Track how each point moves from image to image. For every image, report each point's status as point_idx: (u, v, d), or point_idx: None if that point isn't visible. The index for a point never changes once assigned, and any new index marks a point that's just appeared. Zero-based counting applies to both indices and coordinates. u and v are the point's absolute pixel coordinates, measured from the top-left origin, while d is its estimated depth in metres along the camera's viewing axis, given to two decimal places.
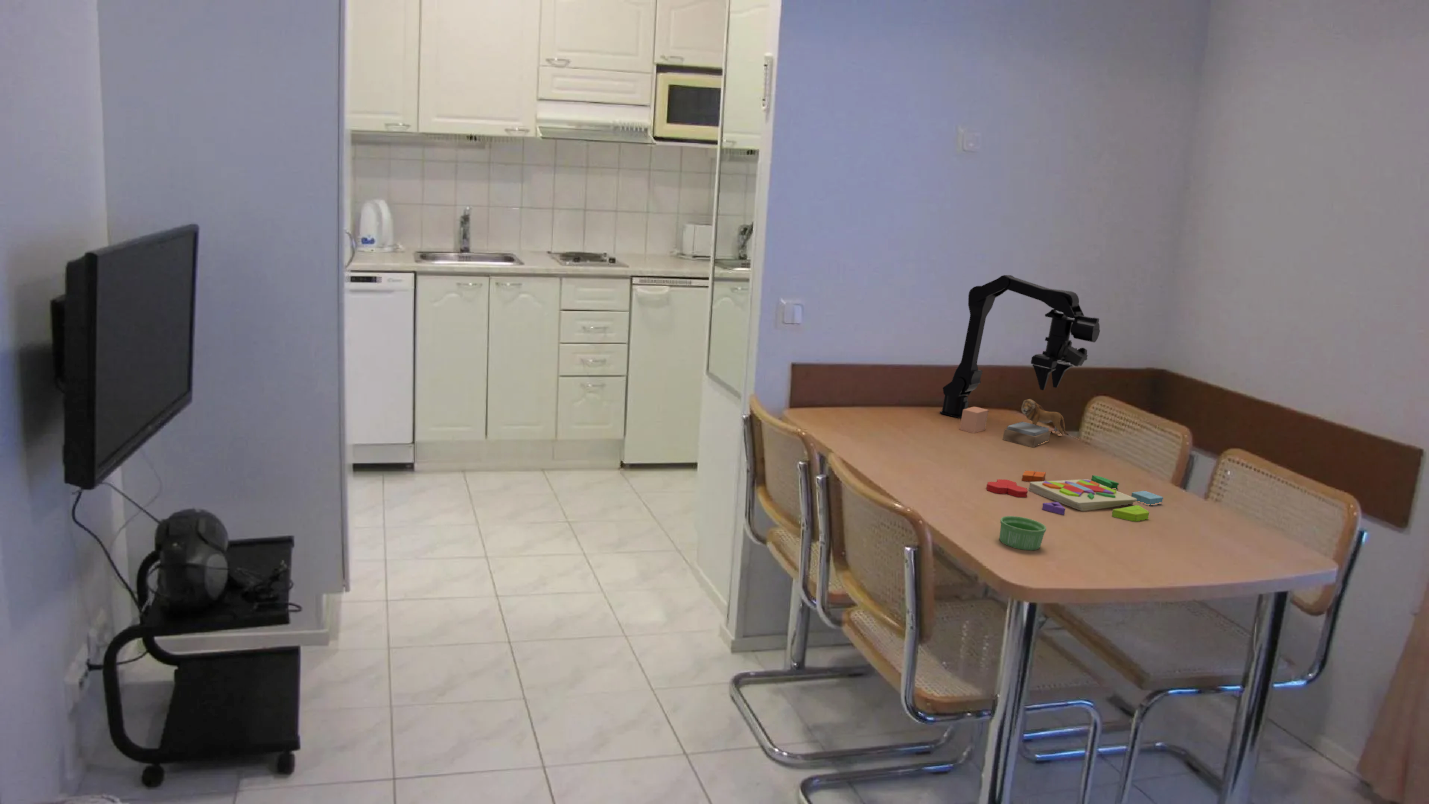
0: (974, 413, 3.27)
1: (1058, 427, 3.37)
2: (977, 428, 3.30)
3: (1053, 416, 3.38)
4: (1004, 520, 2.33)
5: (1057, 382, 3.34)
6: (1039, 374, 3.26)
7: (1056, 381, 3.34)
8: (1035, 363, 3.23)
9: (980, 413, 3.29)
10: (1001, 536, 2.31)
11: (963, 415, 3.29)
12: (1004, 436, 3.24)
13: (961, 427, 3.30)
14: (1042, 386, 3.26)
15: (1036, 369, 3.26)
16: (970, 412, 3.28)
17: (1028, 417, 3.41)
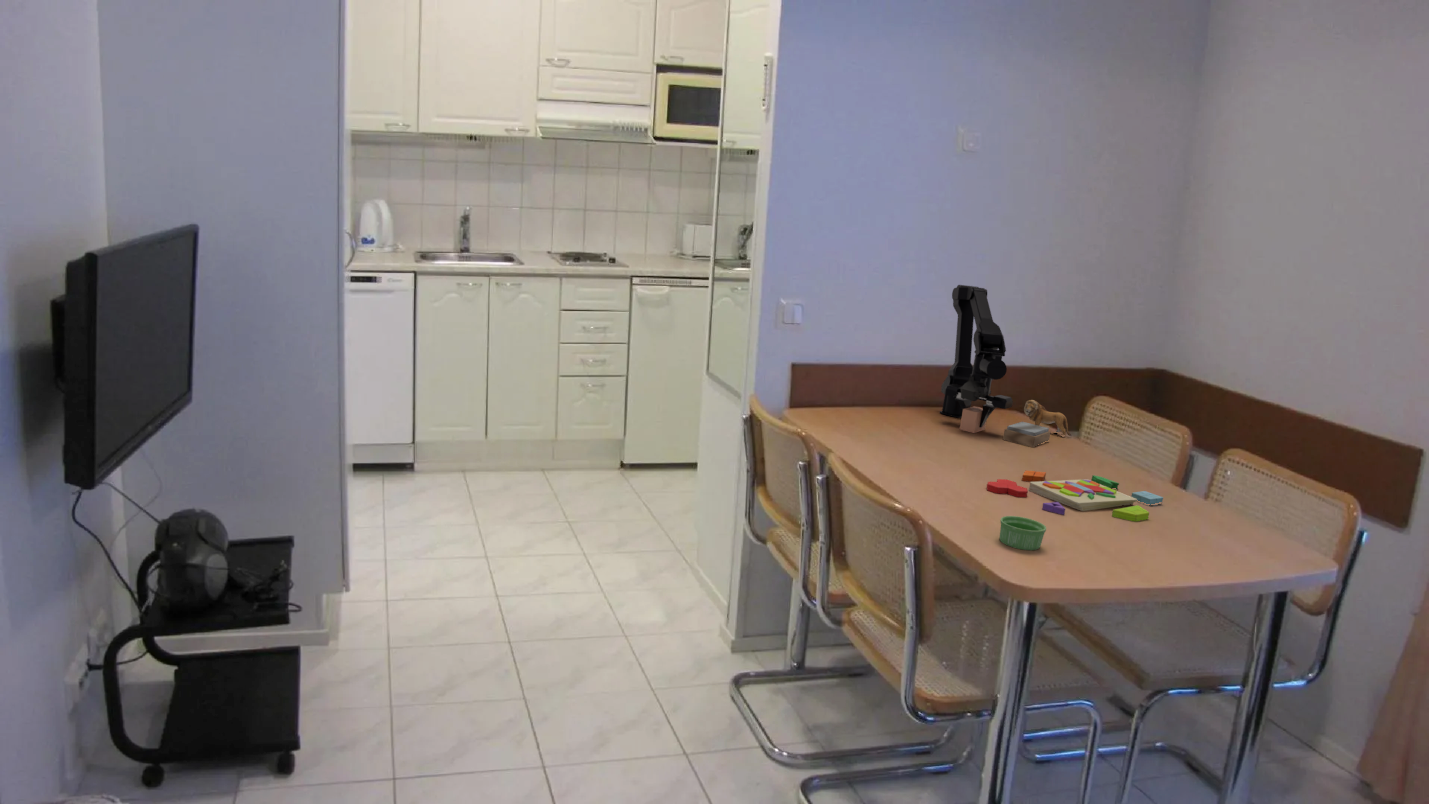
0: (974, 413, 3.27)
1: (1061, 428, 3.37)
2: (977, 428, 3.30)
3: (1056, 416, 3.38)
4: (1004, 520, 2.33)
5: None
6: None
7: None
8: None
9: (980, 413, 3.29)
10: (1001, 536, 2.31)
11: (963, 415, 3.29)
12: (1004, 436, 3.24)
13: (961, 427, 3.30)
14: None
15: None
16: (970, 412, 3.28)
17: (1031, 418, 3.41)
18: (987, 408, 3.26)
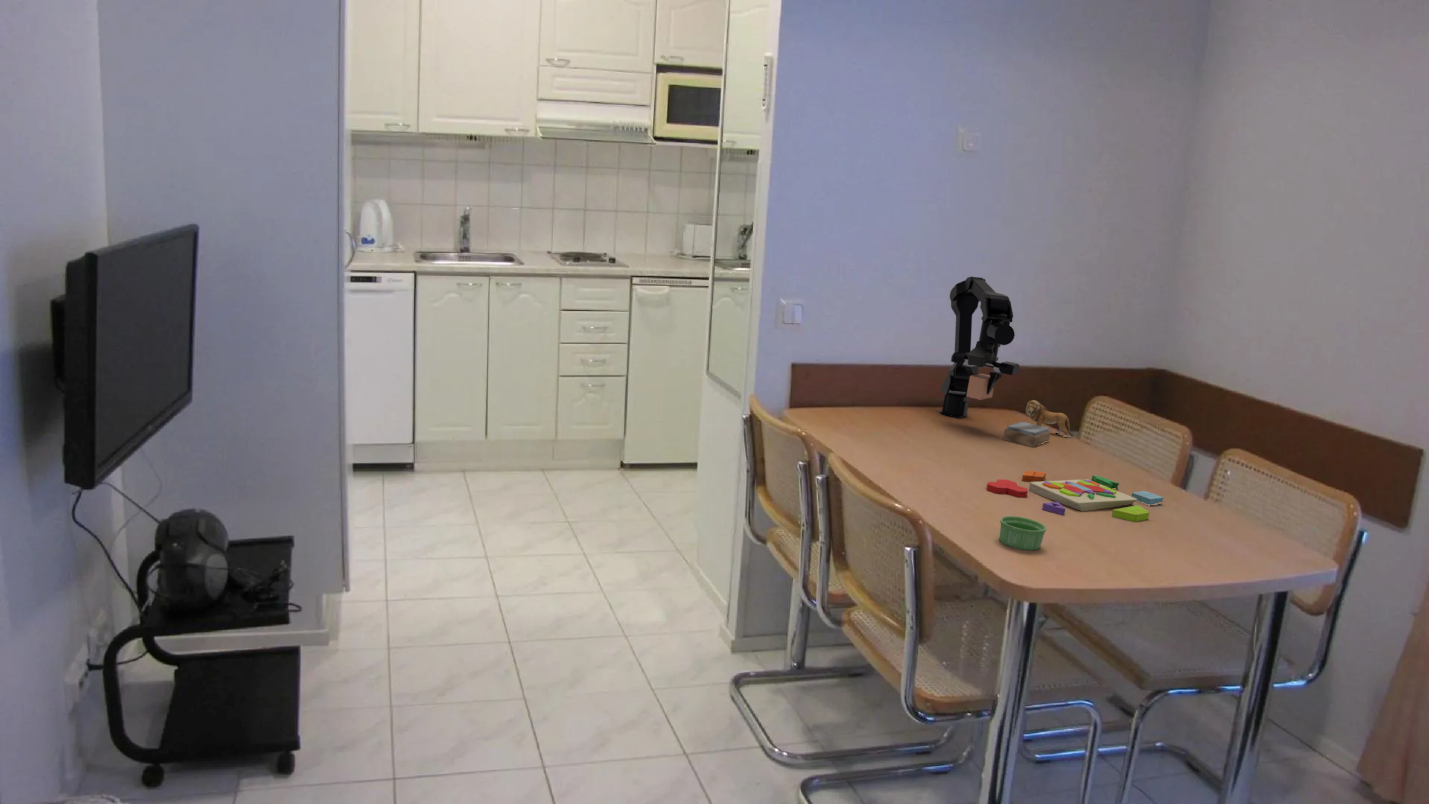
0: (981, 379, 3.25)
1: (1063, 428, 3.37)
2: (984, 395, 3.27)
3: (1058, 417, 3.37)
4: (1004, 520, 2.33)
5: None
6: None
7: None
8: None
9: (987, 379, 3.26)
10: (1001, 536, 2.31)
11: (970, 381, 3.27)
12: (1004, 436, 3.24)
13: (968, 394, 3.28)
14: None
15: None
16: (977, 378, 3.26)
17: (1033, 418, 3.40)
18: (994, 374, 3.24)
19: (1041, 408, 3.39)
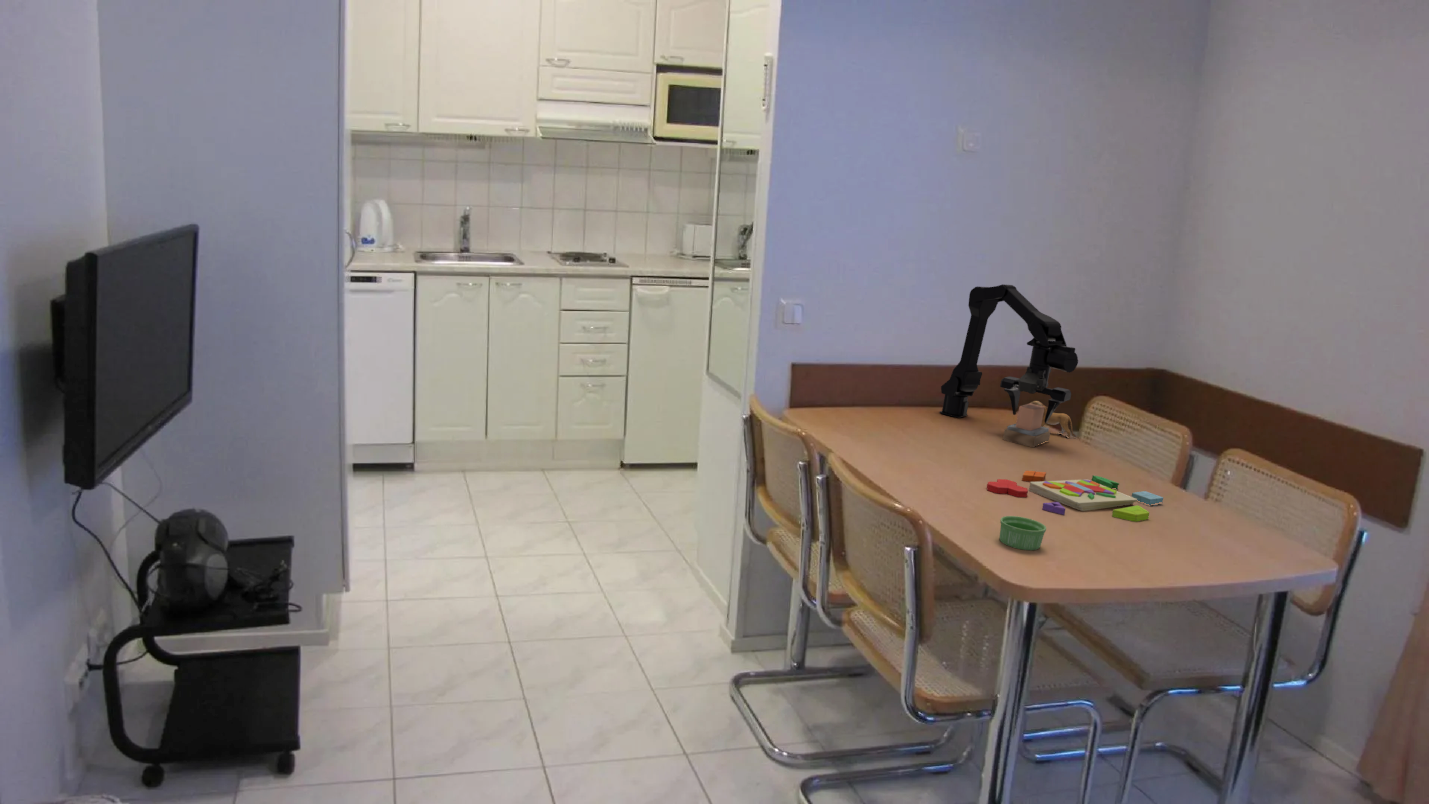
0: (1031, 410, 3.20)
1: (1066, 429, 3.37)
2: (1034, 426, 3.23)
3: (1061, 417, 3.37)
4: (1004, 520, 2.33)
5: None
6: None
7: None
8: None
9: (1037, 410, 3.22)
10: (1001, 536, 2.31)
11: (1019, 412, 3.22)
12: (1004, 436, 3.24)
13: (1017, 424, 3.23)
14: None
15: None
16: (1027, 409, 3.21)
17: None
18: (1053, 403, 3.18)
19: (1044, 409, 3.39)
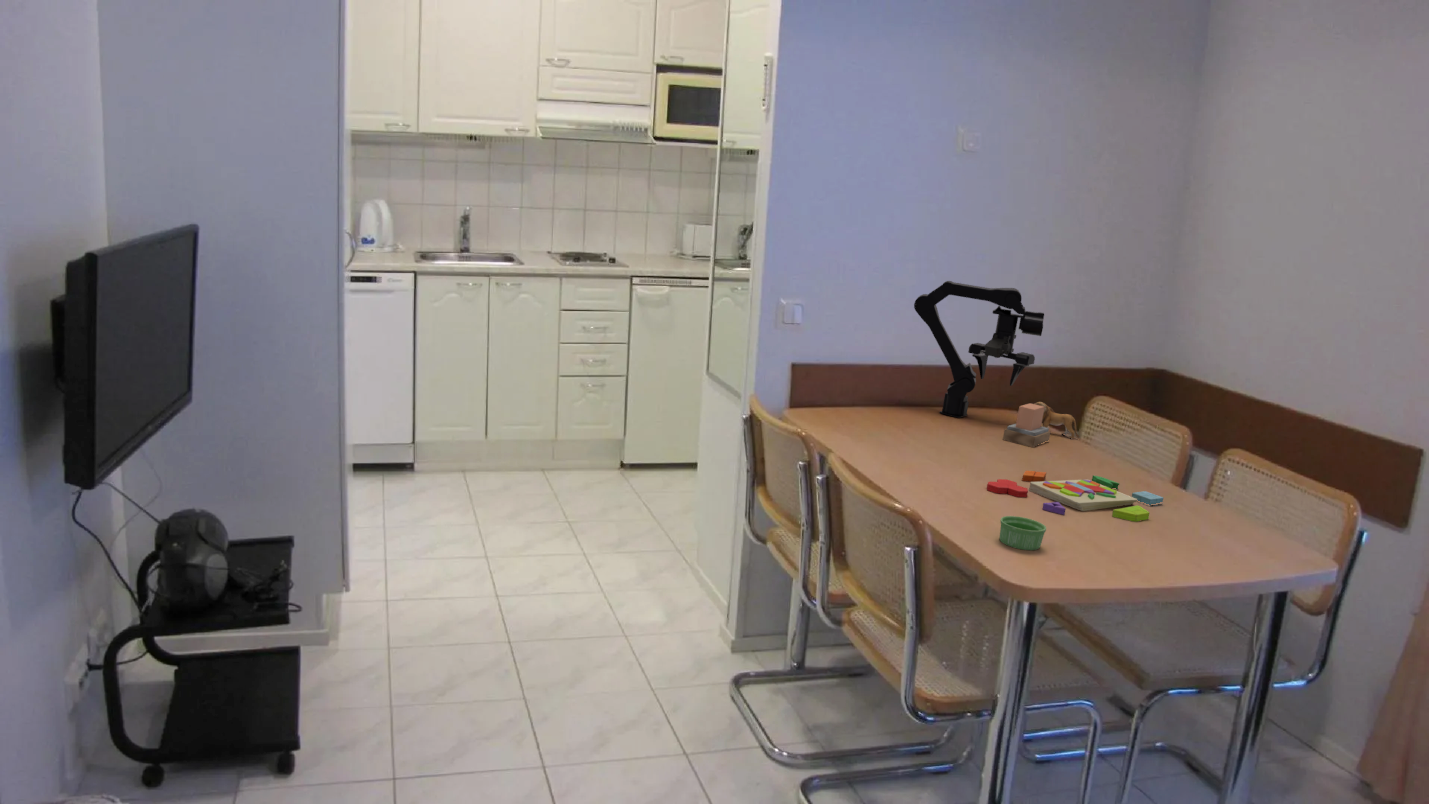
0: (1031, 410, 3.20)
1: (1070, 429, 3.36)
2: (1034, 426, 3.23)
3: (1065, 418, 3.37)
4: (1004, 520, 2.33)
5: None
6: None
7: None
8: None
9: (1037, 410, 3.22)
10: (1001, 536, 2.31)
11: (1019, 412, 3.22)
12: (1004, 436, 3.24)
13: (1017, 424, 3.23)
14: None
15: None
16: (1027, 409, 3.21)
17: None
18: (1017, 366, 3.38)
19: (1048, 409, 3.38)
